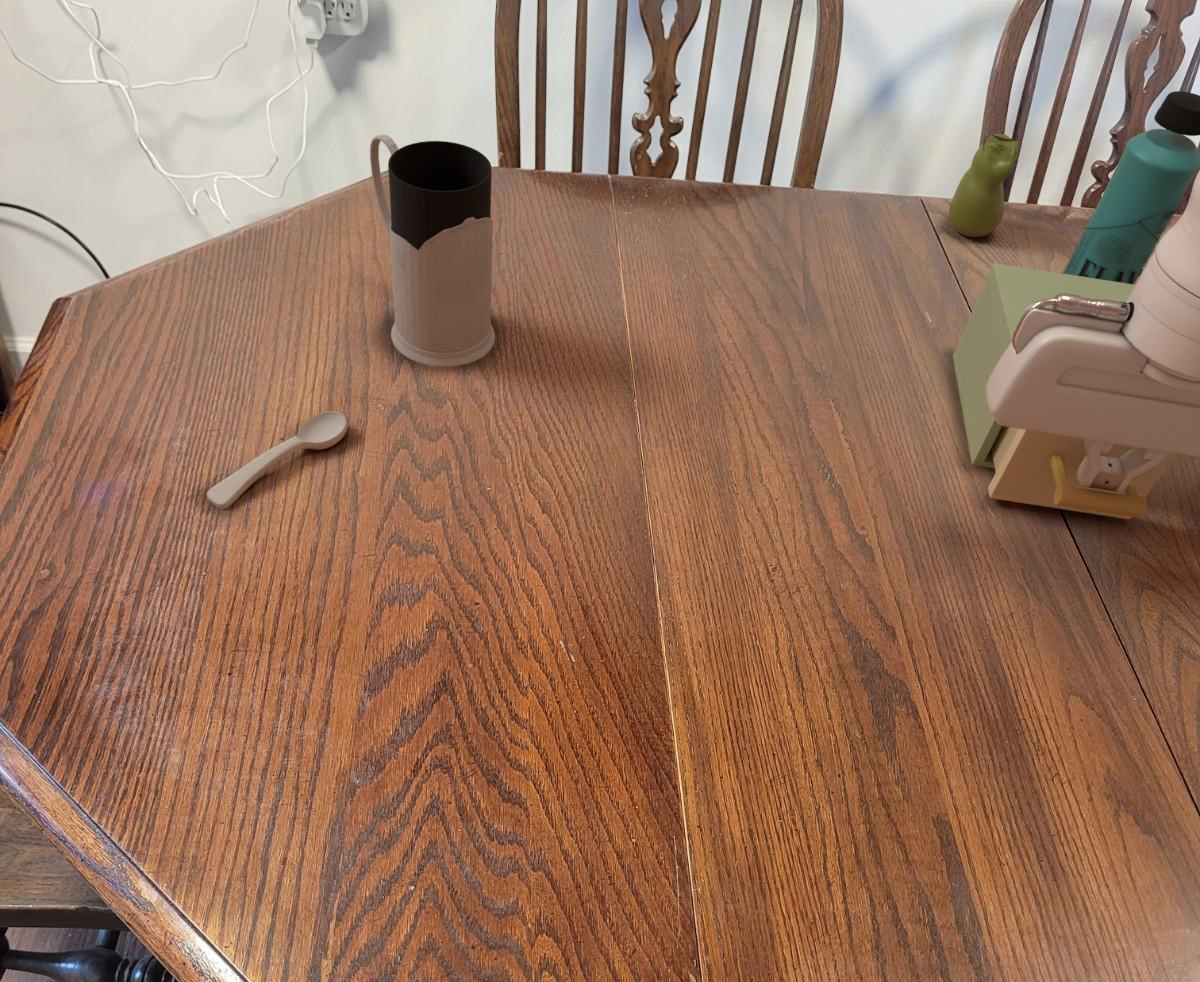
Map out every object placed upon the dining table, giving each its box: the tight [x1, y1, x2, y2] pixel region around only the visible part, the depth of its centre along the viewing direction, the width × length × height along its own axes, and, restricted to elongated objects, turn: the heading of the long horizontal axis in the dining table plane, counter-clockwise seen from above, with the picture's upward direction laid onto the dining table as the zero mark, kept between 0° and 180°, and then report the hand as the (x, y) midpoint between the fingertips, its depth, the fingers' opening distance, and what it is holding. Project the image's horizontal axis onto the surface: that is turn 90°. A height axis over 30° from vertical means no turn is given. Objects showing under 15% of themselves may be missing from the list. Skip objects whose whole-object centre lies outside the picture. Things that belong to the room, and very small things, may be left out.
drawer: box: [987, 426, 1176, 520], centre depth 80 cm, size 18×11×8 cm, turn 173°
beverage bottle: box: [1061, 90, 1200, 285], centre depth 93 cm, size 6×7×20 cm
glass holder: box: [369, 134, 496, 368], centre depth 83 cm, size 9×14×15 cm, turn 39°
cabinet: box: [952, 262, 1135, 470], centre depth 85 cm, size 15×12×10 cm
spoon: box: [206, 410, 349, 510], centre depth 75 cm, size 3×12×2 cm, turn 141°
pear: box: [948, 133, 1019, 238], centre depth 104 cm, size 6×5×10 cm
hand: (1097, 483), depth 74 cm, fingers closed, pressing on drawer
